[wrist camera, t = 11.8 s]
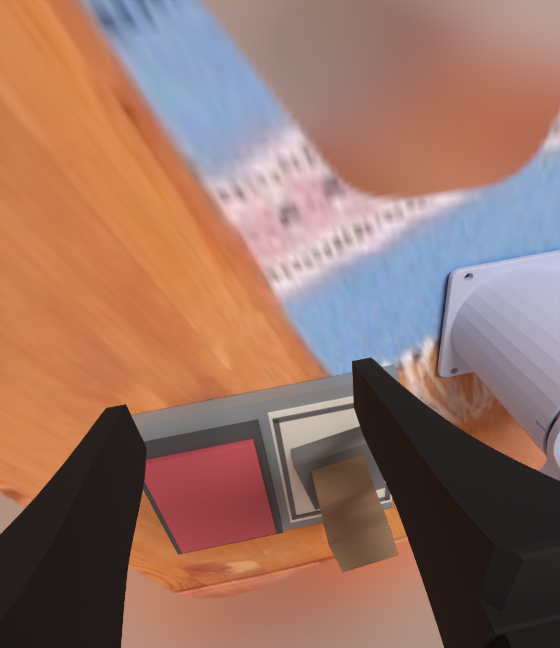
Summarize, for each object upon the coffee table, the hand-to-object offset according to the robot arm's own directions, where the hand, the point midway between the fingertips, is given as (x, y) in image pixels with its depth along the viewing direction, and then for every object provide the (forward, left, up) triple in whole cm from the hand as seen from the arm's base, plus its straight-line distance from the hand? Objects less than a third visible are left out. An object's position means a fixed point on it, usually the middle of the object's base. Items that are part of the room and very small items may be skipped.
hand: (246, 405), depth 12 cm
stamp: (-4, +16, -9) cm, 18 cm away
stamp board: (0, +16, -10) cm, 19 cm away
